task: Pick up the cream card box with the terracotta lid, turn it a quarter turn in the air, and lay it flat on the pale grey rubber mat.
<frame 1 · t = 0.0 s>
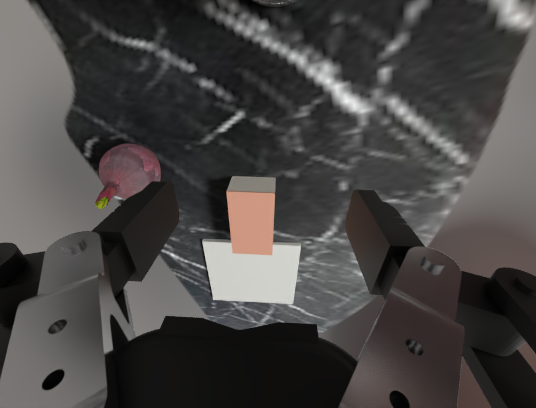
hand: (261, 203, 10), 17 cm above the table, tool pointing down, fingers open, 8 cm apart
card box: (254, 208, 32), on the table
vegetable: (149, 157, 28), on the table
mat: (252, 273, 39), on the table
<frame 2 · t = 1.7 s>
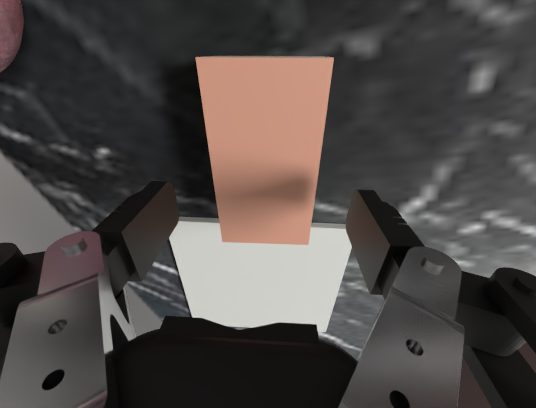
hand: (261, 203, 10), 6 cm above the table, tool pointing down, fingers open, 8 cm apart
card box: (268, 145, 15), on the table
vegetable: (14, 2, 12), on the table
mat: (259, 281, 22), on the table
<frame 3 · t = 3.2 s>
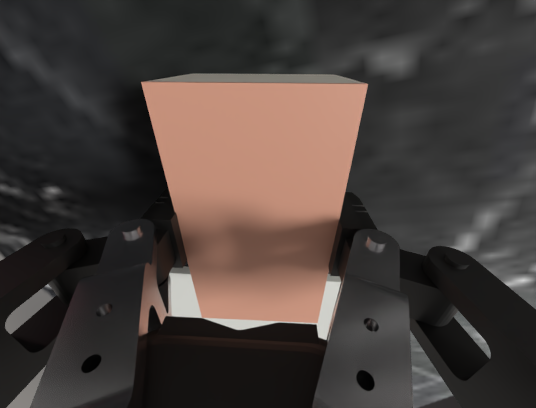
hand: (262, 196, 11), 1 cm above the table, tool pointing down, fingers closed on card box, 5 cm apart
card box: (263, 187, 12), on the table, touching gripper
mat: (254, 333, 19), on the table
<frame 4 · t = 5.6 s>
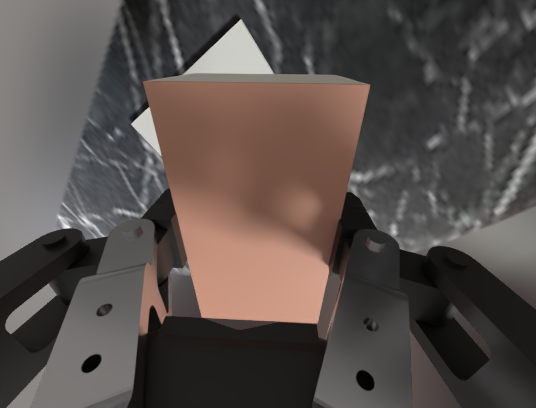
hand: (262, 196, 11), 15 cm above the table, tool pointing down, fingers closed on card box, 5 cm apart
card box: (264, 187, 12), point 14 cm above the table, touching gripper
mat: (231, 141, 25), on the table
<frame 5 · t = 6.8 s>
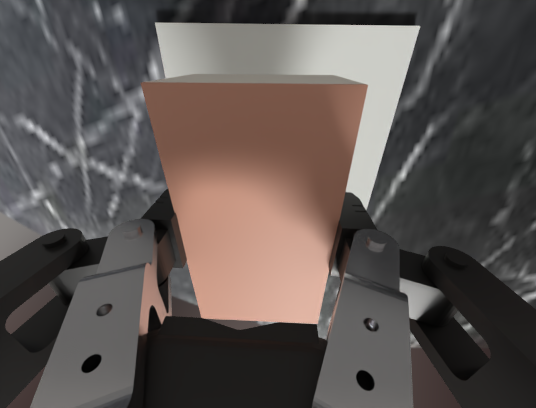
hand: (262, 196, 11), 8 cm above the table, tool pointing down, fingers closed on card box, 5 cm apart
card box: (263, 188, 12), point 7 cm above the table, touching gripper
mat: (279, 149, 17), on the table
when the fingers open (2 cm above the table, at t = 8.0 s): card box drops 1 cm, resting on mat.
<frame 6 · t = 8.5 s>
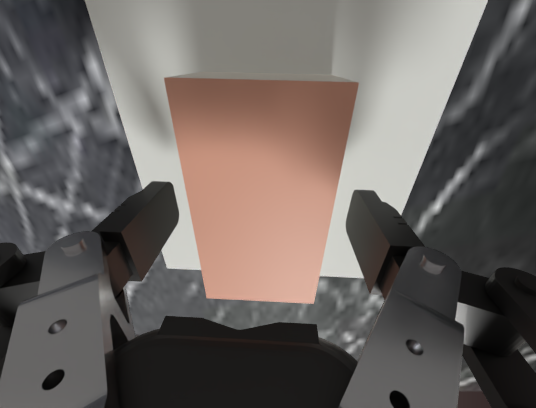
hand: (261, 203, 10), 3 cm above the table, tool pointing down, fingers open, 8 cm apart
card box: (265, 178, 12), point 1 cm above the table, touching mat
mat: (273, 174, 13), on the table
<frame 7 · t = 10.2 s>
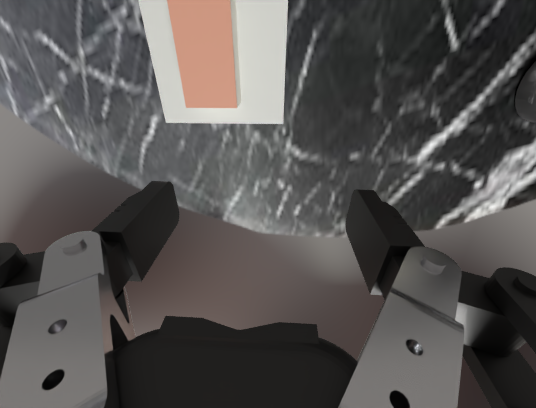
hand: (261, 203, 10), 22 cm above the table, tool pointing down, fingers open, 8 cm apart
card box: (213, 52, 25), point 1 cm above the table, touching mat
mat: (218, 53, 26), on the table
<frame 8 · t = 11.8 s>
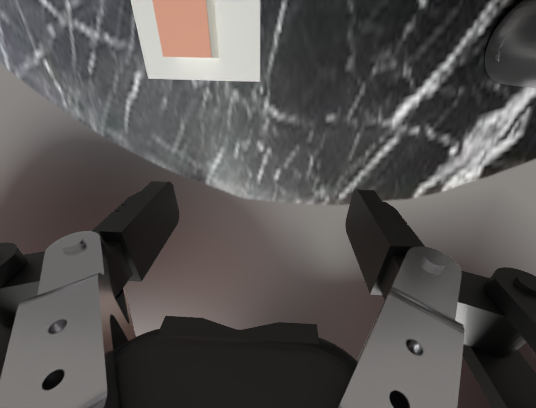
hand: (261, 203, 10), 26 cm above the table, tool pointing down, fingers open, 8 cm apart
card box: (191, 6, 27), point 1 cm above the table, touching mat
mat: (197, 7, 27), on the table
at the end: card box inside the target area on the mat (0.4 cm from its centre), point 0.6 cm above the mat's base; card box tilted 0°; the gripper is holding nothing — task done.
